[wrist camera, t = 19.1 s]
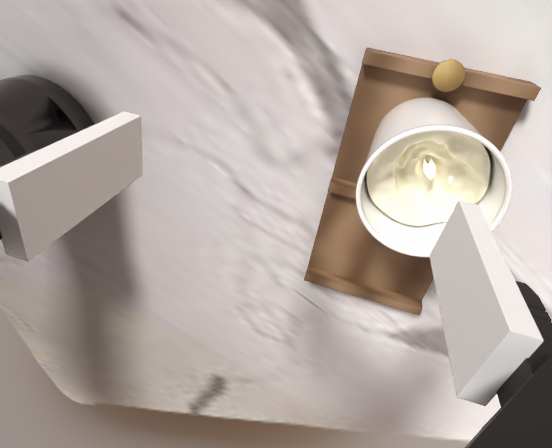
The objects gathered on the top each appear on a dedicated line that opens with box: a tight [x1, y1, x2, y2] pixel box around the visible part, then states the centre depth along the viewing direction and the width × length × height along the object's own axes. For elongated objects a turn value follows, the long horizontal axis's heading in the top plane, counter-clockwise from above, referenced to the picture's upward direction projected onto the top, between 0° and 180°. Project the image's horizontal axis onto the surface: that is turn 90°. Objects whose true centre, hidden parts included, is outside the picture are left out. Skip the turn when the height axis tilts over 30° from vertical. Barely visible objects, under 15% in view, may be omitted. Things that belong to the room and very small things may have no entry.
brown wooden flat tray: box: [304, 48, 541, 315], centre depth 38 cm, size 14×27×3 cm, turn 171°
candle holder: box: [356, 97, 512, 257], centre depth 30 cm, size 10×10×12 cm
